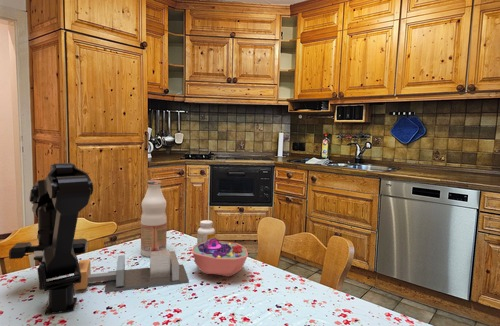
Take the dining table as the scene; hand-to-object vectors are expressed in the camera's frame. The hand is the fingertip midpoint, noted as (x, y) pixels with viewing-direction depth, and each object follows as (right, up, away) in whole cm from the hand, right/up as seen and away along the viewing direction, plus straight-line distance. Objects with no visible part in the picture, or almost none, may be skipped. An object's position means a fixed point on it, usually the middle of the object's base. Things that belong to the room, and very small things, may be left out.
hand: (51, 276), depth 96 cm
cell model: (+48, -4, +15) cm, 50 cm away
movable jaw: (+13, -2, +5) cm, 14 cm away
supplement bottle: (+41, -2, +32) cm, 52 cm away
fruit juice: (+21, -2, +31) cm, 37 cm away
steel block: (+29, -3, +10) cm, 31 cm away
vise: (+25, -4, +9) cm, 27 cm away
